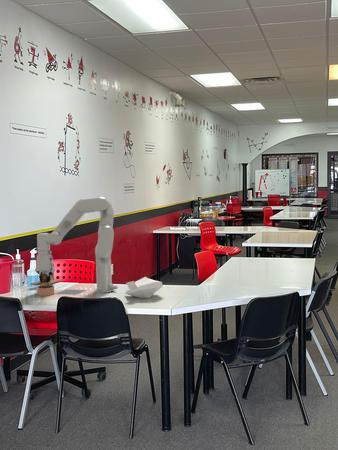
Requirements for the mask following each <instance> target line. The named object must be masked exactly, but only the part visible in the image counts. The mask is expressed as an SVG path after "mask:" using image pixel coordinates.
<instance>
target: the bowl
mask: <svg viewBox="0 0 338 450" xmlns="http://www.w3.org/2000/svg"><path fill="white" fill-rule="evenodd" d="M35 288H36V295H37V296H40V297H41V296H43V297H44V296H52V295H54V294H55V285H53V286H52V285H50V286H38V285H37V286H36V287H35Z"/></svg>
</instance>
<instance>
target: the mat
mask: <svg viewBox="0 0 338 450" xmlns="http://www.w3.org/2000/svg"><path fill="white" fill-rule="evenodd" d="M87 290H88V289H85V290H84V289H68V288H67V289H63V290H61V291H59V292H56V293H55V292H54V294H55V295H73V296H74V295H75V296H77V295H80V294H81V293H83V292H86V291H87Z"/></svg>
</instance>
